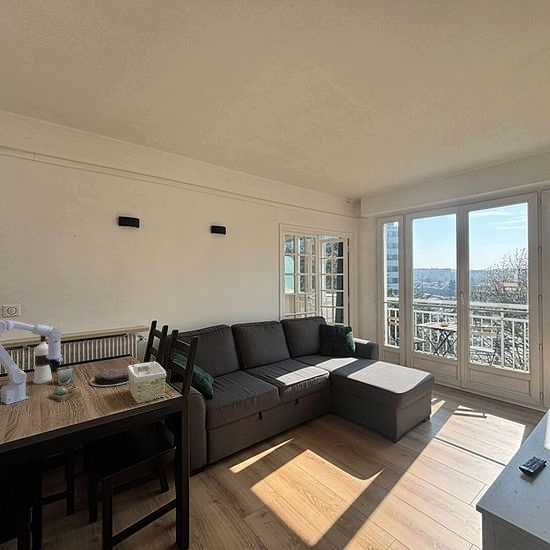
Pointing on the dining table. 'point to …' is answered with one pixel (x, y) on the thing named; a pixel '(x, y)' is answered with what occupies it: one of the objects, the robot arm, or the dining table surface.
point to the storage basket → (146, 381)
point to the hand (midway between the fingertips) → (54, 372)
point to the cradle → (66, 397)
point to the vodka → (42, 363)
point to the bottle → (60, 391)
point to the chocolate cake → (111, 378)
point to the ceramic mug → (65, 376)
